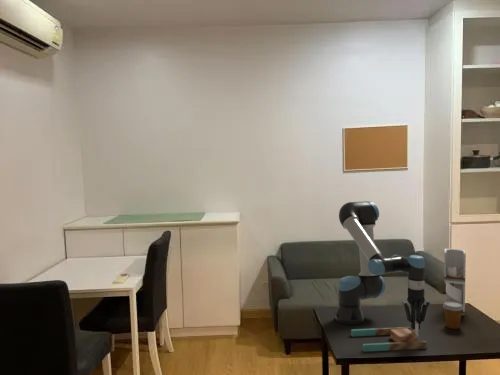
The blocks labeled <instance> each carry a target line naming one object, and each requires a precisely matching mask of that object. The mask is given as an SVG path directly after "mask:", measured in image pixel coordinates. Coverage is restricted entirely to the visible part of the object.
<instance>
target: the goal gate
mask: <svg viewBox="0 0 500 375" xmlns="http://www.w3.org/2000/svg"><path fill="white" fill-rule="evenodd" d="M375 332H376V330H375V329H374V328H373V327H372V328H357V329H356V328H354V329H351V330H350V337H353V338H354V337H369V336H370V337H373V336H376V335H375ZM389 343H390V342H376V343H373V342H371V343H362V351H363V353H365V352H380V351H386V352H387V351H390V350H389Z"/></svg>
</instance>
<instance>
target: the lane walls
mask: <svg viewBox="0 0 500 375" xmlns="http://www.w3.org/2000/svg"><path fill="white" fill-rule="evenodd" d="M405 328H408V329H409V330H411V327H410V326H398V327H395V326H393V327H379V328H378V327H375V328H374V329H375V330H376V332H375V335H374V336H390V330H393V329H405ZM388 343H389V350H388V351H400V350H401V351H402V350H421V349H423V350H424V349H427V348H428V342H427V341H426V340H417V341H412V342H395V341H394V342H388Z"/></svg>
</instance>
